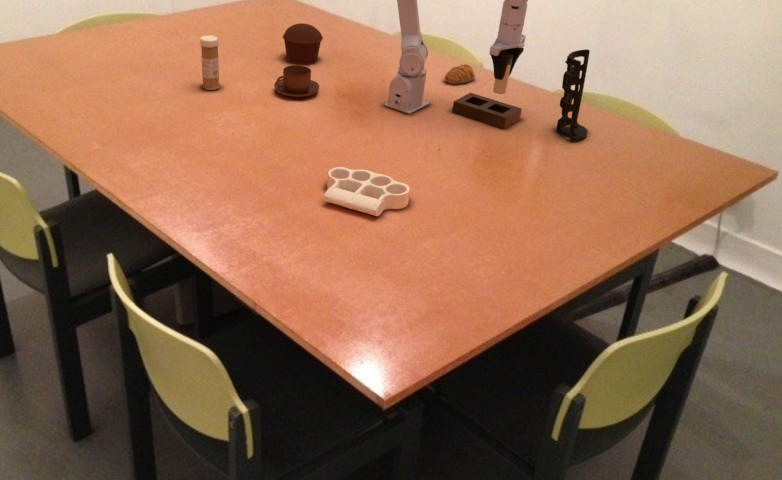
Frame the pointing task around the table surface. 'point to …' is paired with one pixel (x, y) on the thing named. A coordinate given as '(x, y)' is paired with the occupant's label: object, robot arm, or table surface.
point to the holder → (573, 96)
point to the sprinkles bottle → (210, 62)
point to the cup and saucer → (296, 82)
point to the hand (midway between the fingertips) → (501, 77)
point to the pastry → (460, 74)
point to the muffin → (302, 43)
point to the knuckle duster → (365, 191)
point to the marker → (502, 81)
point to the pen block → (487, 110)
